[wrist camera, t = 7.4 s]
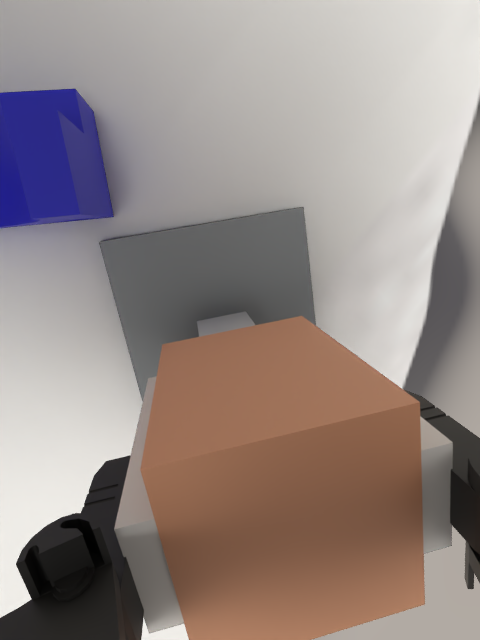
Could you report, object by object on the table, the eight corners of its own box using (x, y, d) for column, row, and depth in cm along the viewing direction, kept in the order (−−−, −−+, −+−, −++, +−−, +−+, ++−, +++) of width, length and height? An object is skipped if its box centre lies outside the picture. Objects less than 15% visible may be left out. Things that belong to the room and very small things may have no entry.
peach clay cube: (162, 344, 12) (140, 469, 6) (301, 315, 13) (419, 401, 7) (191, 466, 14) (198, 674, 7) (316, 435, 14) (424, 604, 8)
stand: (101, 241, 17) (61, 250, 11) (299, 207, 18) (354, 200, 12) (158, 449, 20) (149, 536, 15) (321, 410, 22) (371, 478, 16)
